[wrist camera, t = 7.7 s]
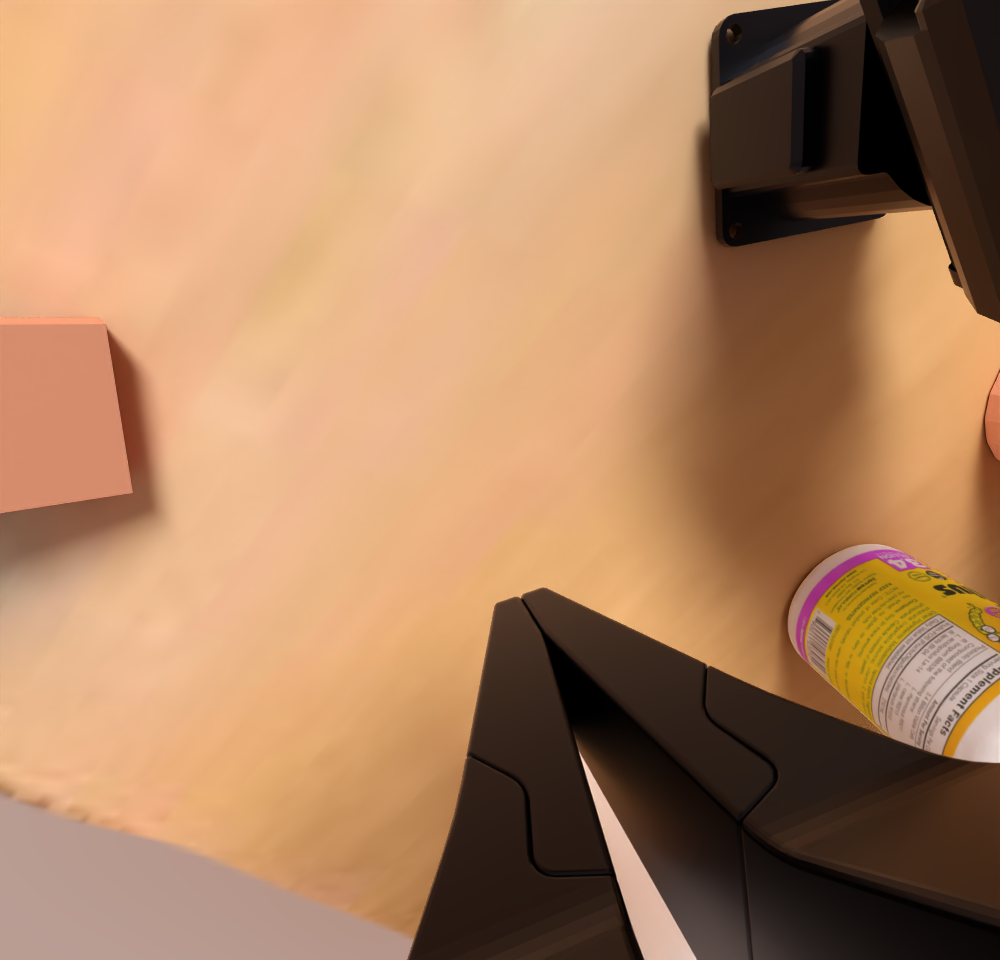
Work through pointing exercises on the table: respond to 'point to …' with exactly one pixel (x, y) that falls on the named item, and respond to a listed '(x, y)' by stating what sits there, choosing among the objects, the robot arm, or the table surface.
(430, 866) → the table surface
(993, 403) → the salt shaker
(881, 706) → the supplement bottle
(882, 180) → the robot arm
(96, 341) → the domino
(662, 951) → the can
